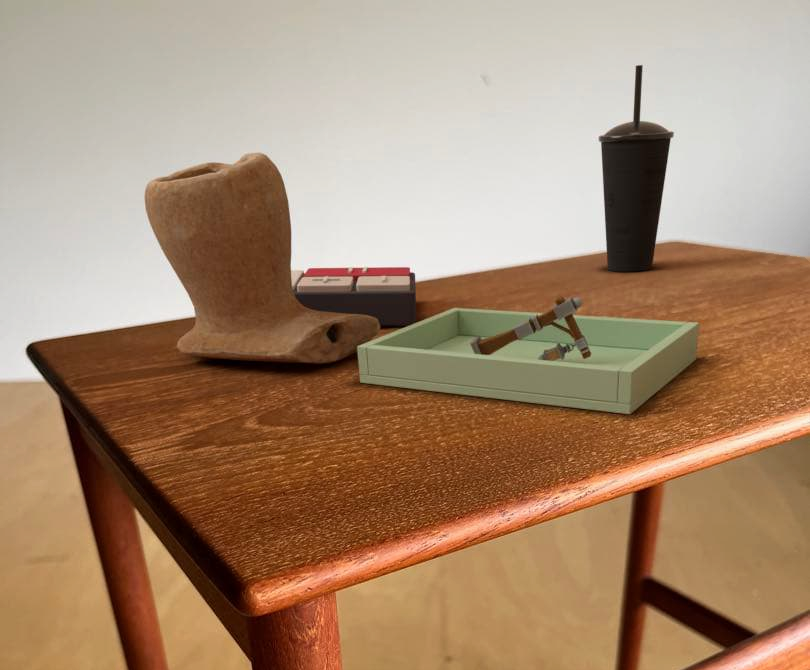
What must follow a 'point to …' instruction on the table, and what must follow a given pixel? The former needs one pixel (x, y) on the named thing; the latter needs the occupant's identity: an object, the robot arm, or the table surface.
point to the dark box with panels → (359, 292)
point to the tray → (533, 359)
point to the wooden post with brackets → (537, 323)
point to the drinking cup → (633, 187)
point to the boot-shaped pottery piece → (243, 266)
